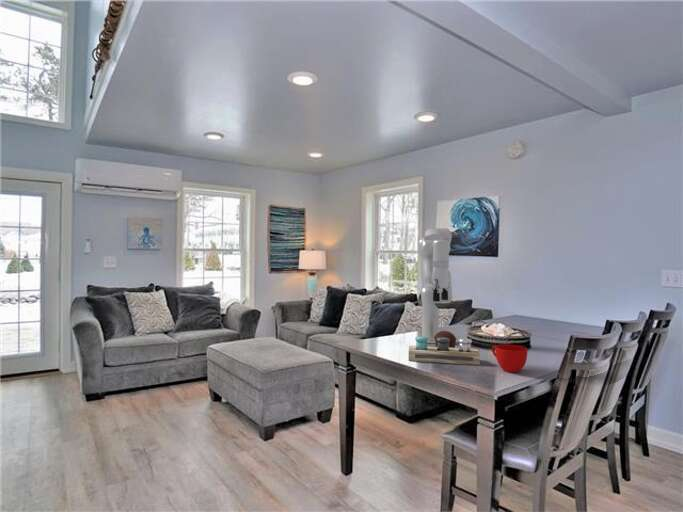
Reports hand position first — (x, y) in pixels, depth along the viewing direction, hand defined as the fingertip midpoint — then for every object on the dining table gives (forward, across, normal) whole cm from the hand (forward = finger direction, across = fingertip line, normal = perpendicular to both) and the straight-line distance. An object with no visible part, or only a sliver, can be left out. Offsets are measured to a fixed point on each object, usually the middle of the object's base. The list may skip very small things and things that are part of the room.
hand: (440, 300), depth 203 cm
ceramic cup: (+28, 0, +31) cm, 42 cm away
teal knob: (+25, +7, -6) cm, 27 cm away
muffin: (+28, -16, -4) cm, 32 cm away
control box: (+28, +3, +3) cm, 28 cm away
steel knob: (+25, -2, +12) cm, 28 cm away
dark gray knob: (+25, +3, +3) cm, 25 cm away
